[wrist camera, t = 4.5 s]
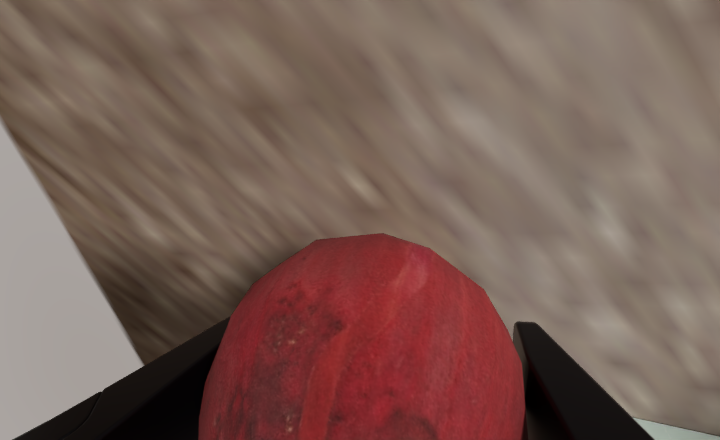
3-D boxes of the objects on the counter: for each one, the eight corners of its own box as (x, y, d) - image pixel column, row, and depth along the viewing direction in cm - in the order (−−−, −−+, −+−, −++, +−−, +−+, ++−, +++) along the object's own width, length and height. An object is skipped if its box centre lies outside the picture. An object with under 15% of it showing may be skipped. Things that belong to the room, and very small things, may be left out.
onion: (271, 200, 10) (-146, 551, 3) (486, 163, 8) (683, 788, 1) (328, 357, 12) (161, 777, 5) (508, 353, 10) (631, 982, 3)
